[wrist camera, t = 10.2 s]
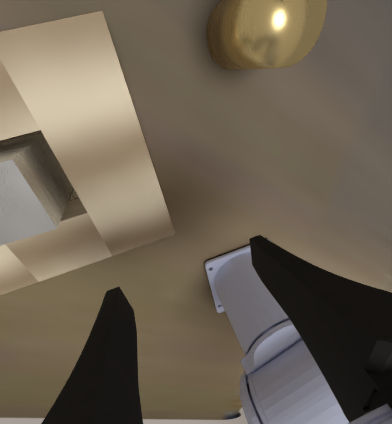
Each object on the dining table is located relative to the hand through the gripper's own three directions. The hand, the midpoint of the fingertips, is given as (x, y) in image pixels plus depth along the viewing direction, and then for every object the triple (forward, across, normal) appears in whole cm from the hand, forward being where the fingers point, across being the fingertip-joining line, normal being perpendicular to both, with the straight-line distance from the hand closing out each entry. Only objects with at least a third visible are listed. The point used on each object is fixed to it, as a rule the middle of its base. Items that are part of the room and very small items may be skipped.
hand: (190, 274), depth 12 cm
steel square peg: (+10, +8, -5) cm, 14 cm away
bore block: (+9, +8, -5) cm, 13 cm away
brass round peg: (+9, -8, -10) cm, 16 cm away
